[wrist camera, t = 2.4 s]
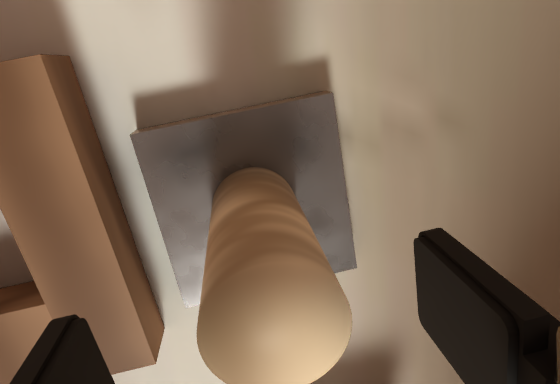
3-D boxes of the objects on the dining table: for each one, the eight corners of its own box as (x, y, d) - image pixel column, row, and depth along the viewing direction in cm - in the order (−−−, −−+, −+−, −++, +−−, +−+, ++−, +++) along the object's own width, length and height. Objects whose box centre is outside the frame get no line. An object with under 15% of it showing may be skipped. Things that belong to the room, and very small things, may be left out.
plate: (325, 90, 20) (332, 92, 19) (349, 255, 24) (357, 267, 22) (136, 129, 20) (129, 134, 18) (188, 293, 23) (185, 308, 22)
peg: (287, 159, 20) (341, 246, 10) (301, 235, 21) (360, 373, 12) (202, 177, 19) (177, 284, 10) (222, 253, 21) (218, 408, 11)
